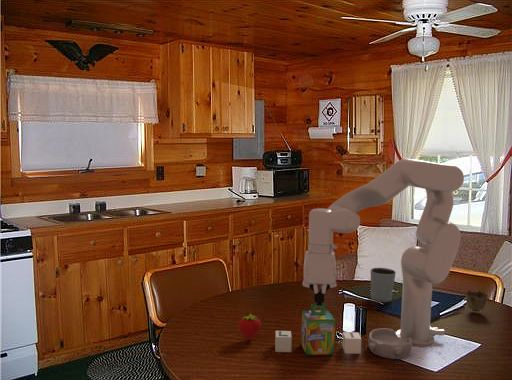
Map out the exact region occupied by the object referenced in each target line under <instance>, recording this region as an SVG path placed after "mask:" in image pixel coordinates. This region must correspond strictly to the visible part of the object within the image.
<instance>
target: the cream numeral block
mask: <svg viewBox="0 0 512 380" xmlns="http://www.w3.org/2000/svg"><path fill="white" fill-rule="evenodd" d="M342 349H343V352H344V354H355V355H356V354H361V353H362V351H361V350H362V337H361V336H360V333H359V332H357V331H356V332H355V331H354V332H351V331H350V332H349V331H348V332H347V331H343V332H342Z"/></svg>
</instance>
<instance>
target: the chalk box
mask: <svg viewBox="0 0 512 380" xmlns="http://www.w3.org/2000/svg"><path fill="white" fill-rule="evenodd" d="M316 308H319V310H318V309H316ZM335 337H336V319H335V318H334V315H332V314H331V313H330V311H329V310H327V309H326V304H325V303H322V306H320V305H319V306H317V304H316V303H312V304H310V310H302V311H301V337H300V338H301V339H300V345H301V347H302V349H303V352H304V353H305V356H320V355H321V356H324V355H328V356H330V355H334V354H335Z"/></svg>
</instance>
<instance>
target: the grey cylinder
mask: <svg viewBox="0 0 512 380" xmlns="http://www.w3.org/2000/svg"><path fill="white" fill-rule="evenodd" d="M396 274H397V273H396V270H394V269H392V268H391V269H390V268H386V267H373V268H370V298H371V299H372V301H374V302H380V303H388V302H391V301H392V299H393V291H394V287H395V286H394V283H395V279H396Z"/></svg>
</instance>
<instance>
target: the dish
mask: <svg viewBox="0 0 512 380" xmlns="http://www.w3.org/2000/svg"><path fill="white" fill-rule="evenodd" d="M367 341H368V348H369V350H370V352H372V353H373V354H374V355H376V356H379V357H381V358H386V359H393V360H402V359H405V358H408V356H410V355H411V353H412V350H413V349H412V348H413V345H412V339H411V338H410V337H409V338H408V339H407V340H405V341H403V340H401V339H400V338H399V337H398V336H397V335H396V331H395V330H394V329H393V328H386V327H385V328H384V327H383V328H382V327H381V328H375V329H372V330H371V331H370V332H369V335H368V340H367Z"/></svg>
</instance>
